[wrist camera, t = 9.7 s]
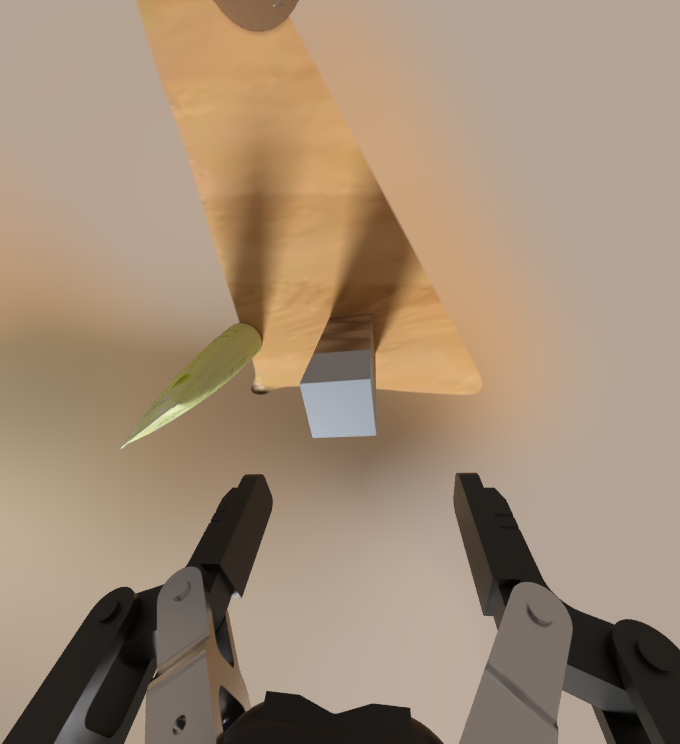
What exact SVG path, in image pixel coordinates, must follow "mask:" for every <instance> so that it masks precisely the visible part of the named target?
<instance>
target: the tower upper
mask: <svg viewBox="0 0 680 744" xmlns="http://www.w3.org/2000/svg"><path fill="white" fill-rule="evenodd" d="M367 349H371V355H372V365H373V375H374V386H375V396H376V374H375V363H374V353H373V342H372V332H371V329H366V330H356V331H346V332H336V333H327V334H322V336H321V338H320V340H319V342H318V344H317V347H316V349H315V351H314V353H313V354H321V353H332V352H344V351H355V350H367Z"/></svg>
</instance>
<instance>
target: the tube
mask: <svg viewBox="0 0 680 744" xmlns="http://www.w3.org/2000/svg"><path fill="white" fill-rule="evenodd" d="M261 344H262V341H261V337H260V335H259V333H258V332H257V330H256V329H255V328H253V327H252V326H250V325H248V324H244V323H238V324H235V325H233V326H231V327H230V328H229V329H227V330H226V331H225V332H224V333H222V334H221V335H220V336H219V337H217V338H216V339H215V340H214V341H213V342H212V343H210V344H209V345H208V346H207V347H206V348H205V349H204V350H203V351H202V352H200V353H199V354H198V355H197V356H196V357H195V358H194V359H193V360H192V361H191V362H190V363H189V364H188V365H187V366H186V367H185V368H184V369H183V370H182V371H181V372H180V373H179V374H178V375H177V377H176V378H175V379H174V380H173V381H172V382H171V383H170V384H169V385H168V387H167V388H166V389H165V390H164V391H163V393H161V395H160V396H159V397H158V398H157V399H156V400H155V402H154V403H153V404H152V405H151V407H150V408H149V409H148V410H147V411H146V413H145V414H144V415H143V416H142V418H141V419H140V420H139V422H138V423H137V424H136V426H135V427H134V429H133V430H132V432H131V434H130V435H129V437H128V439H127V440H126V442H125V443H124V444H123V445H122V446H121V449H122V448H123V447H124V446H125V445H127V444H128V443H130V442H132V441H134V440H137V439H139V438H141V437H143V436H145V435H147V434H149V433H151V432H153V431H154V430H157V429H158V428H160V427H162V426H164V425H165V424H167V423H169V422H170V421H172V420H174V419H175V418H177V417H178V416H180V415H182V414H183V413H185V412H186V411H188V410H189V409H191V408H192V407H194V406H195V405H197V404H198V403H200V402H201V401H203V400H204V399H205V398H207V397H208V396H210V395H211V394H212V393H214V392H215V391H216V390H218V389H219V388H220V387H221V386H223V385H224V384H225V383H226V382H227V381H228V380H230V379H231V378H232V377H233V376H234V375H235V374H236V373H238V371H240V370H241V369H242V368H243V367H244V366H245V365H246V364H247V363H248V362H249V361H250V360H251V359H252V358H253V357H254V356H255V355H256V354H257V353H258V352H259V350H260V348H261Z"/></svg>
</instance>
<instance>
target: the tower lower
mask: <svg viewBox="0 0 680 744" xmlns="http://www.w3.org/2000/svg"><path fill="white" fill-rule="evenodd" d="M366 329H371V332H372V342H373V353H374V363H375V344H374V333H373V322H372V314H367V315H358V316H348V317H339V318H330V319H329V320H328V323H327V325H326V327H325V329H324V331H323V334H327V333H336V332H346V331H356V330H366ZM375 373H376V367H375Z"/></svg>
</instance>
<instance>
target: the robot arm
mask: <svg viewBox="0 0 680 744" xmlns="http://www.w3.org/2000/svg"><path fill="white" fill-rule="evenodd" d="M214 1H215V3H216V4H217V5H218V7H219V8H220V9H221V11H222V12H223V13H224V14H225V15H226V16H227V17H228V18H229V19H230V20H231V21H232V22H234V23H235V24H237V25H238V26H240V27H241V28H244V29H247V30H250V31H266V30H269V29H272V28H275V27H276V26H278V25H279V24H281V23H282V22H283V21H284V20H285V19H286V18H287V17H288V16H289V15H290V14H291V12H292V11H293V10H294V8H295V6H296V3H297V2H298V1H299V0H214ZM272 504H273V499H272V495H271V493H270V490H269V487H268V485H267V482H266V480H265V477H264V475H262V474H255V475H254V474H252V475H251V474H248V475H245V476H243V478H242V480H241V482H240V484H239V486H238V488H232V489H231V490H230V491H229V492H228V493H227V494H226V495H225V496H224V497H223V498H222V500H221V502H220V504H219V506H218V508H217V510H216V513H215V514H214V515H213V517H212V519H211V523H209V525H208V527H207V529H206V531H205V532H204V534H203V536H202V538H201V540H200V542H199V544H198V546H197V547H196V549H195V551H194V553H193V555H192V557H191V559H190V561H189V563H188V564H187V566H186V567H185V568H183V569H181V570H179V571H177V572H176V573H174V574H173V575H172V576H171V577H170V578H169V579H168V580H167V582H166V583H165V584H163V585H161V586H158V587H155V588H152V589H149V590H145V591H142V592H140V593H135V592H134V591H133V590H132V589H131V588H129V587H120V588H117V589H115V590H113V591H112V592H110V593H108V594H107V595H105V596H104V597H103V598H102V599H101V600H100V601H99V602H98V603H97V604H96V605H95V606H94V607H93V609H92V610H91V611H90V613H89V614H88V616H87V617H86V619H85V620H84V622H83V623H82V625H81V626H80V628H79V629H78V631H77V632H76V634H75V635H74V637H73V638H72V640H71V641H70V643H69V644H68V646H67V647H66V649H65V650H64V652H63V653H62V655H61V657H60V658H59V659H58V661H57V662H56V664H55V665H54V667H53V668H52V670H51V671H50V673H49V674H48V676H47V677H46V679H45V680H44V682H43V683H42V685H41V686H40V688H39V689H38V691H37V692H36V694H35V695H34V697H33V698H32V700H31V701H30V703H29V704H28V706H27V707H26V709H25V710H24V712H23V713H22V715H21V716H20V718H19V719H18V721H17V722H16V724H15V725H14V727H13V728H12V730H11V731H10V733H9V734H8V736H7V737H6V739H5V740H4V742H3V743H2V744H124V742H125V740H126V738H127V735H128V733H129V731H130V728H131V726H132V724H133V721H134V719H135V717H136V715H137V712H138V710H139V708H140V706H141V703H142V701H143V699H144V696H145V694H146V692H147V694H146V724H145V744H444V743H443V742H442V741H441V740H440V739H439V738H438V737H437V736H436V735H435V734H434V733H433V732H432V731H431V730H430V729H429V728H427V727H426V726H425V725H423V724H422V723H421V722H419V721H417V720H415V719H413V718H412V717H411V713H410V708H406V707H397V706H389V705H381V704H369V705H366V706H362V707H359V708H356V709H352V710H349V711H345V712H342V713H338V714H333V713H330V712H329V711H327V710H325V709H324V708H322V707H320V706H318V705H317V704H315V703H313V702H311V701H310V700H308V699H306V698H304V697H302V696H301V695H296V694H288V693H279V692H270V691H266V696H265V701H264V702H262V703H260V704H258V705H256V706H254V707H252V708H251V705H250V700H249V696H248V692H247V689H246V686H245V683H244V680H243V678H242V676H241V673H240V669H239V665H238V660H237V655H236V650H235V644H234V639H233V634H232V629H231V624H230V619H229V614H228V610H227V608H228V605H229V602H230V600H231V598H240V599H241V598H242V596H243V593H244V590H245V587H246V584H247V581H248V578H249V575H250V572H251V569H252V567H253V564H254V561H255V558H256V555H257V552H258V549H259V546H260V543H261V540H262V537H263V534H264V532H265V529H266V526H267V523H268V520H269V517H270V514H271V511H272ZM454 508H455V514H456V517H457V521H458V525H459V528H460V532H461V536H462V539H463V543H464V547H465V550H466V554H467V557H468V561H469V564H470V568H471V572H472V576H473V579H474V583H475V586H476V590H477V594H478V597H479V601H480V605H481V608H482V612H483V615H484V616H494V619H495V622H496V626H497V630H498V633H497V635H496V638H495V641H494V645H493V647H492V650H491V653H490V656H489V659H488V662H487V664H486V667H485V670H484V673H483V676H482V679H481V682H480V685H479V687H478V690H477V693H476V696H475V699H474V702H473V705H472V708H471V710H470V713H469V717H468V719H467V722H466V725H465V728H464V731H463V734H462V737H461V740H460V743H459V744H558V726H557V715H558V709H559V703H560V698H561V692H562V690H563V691H565V692H568V693H569V694H571V695H574V696H576V697H577V698H579V699H581V700H584V701H586V702H588V703H590V704H591V705H592V707H593V710H594V712H595V715H596V717H597V720H598V722H599V725H600V727H601V730H602V732H603V734H604V737H605V739H606V742H607V744H680V650H679V649H678V647H676V646H675V645H674V644H673V643H672V642H671V641H670V640H669V639H668V638H667V637H666V636H664V635H663V634H662V633H660V632H659V631H657V630H656V629H654V628H652V627H650V626H649V625H647V624H645V623H642V622H639V621H636V620H630V619H625V620H621V621H619V622H617V623H616V624H615V625H614V624H611V623H609V622H606V621H604V620H601V619H598V618H596V617H593V616H591V615H588V614H585V613H583V612H580V611H578V610H576V609H574V608H572V607H570V606H569V605H567V604H566V603H564V602H563V601H562V600H560V599H559V598H558V597H557V596H556V595H555V594H554V593H553V592H552V591H551V590H550V588H549V587H548V586H547V585H546V583H545V582H544V580H543V578H542V576H541V574H540V572H539V570H538V567H537V565H536V563H535V561H534V559H533V557H532V555H531V553H530V550H529V548H528V546H527V544H526V542H525V540H524V538H523V535H522V533H521V531H520V530H519V528H518V525H517V523H516V520H515V518H514V517H513V514H512V512H511V510H510V508H509V505H508V503H507V501H506V499H505V498H504V497H503V496H502V495H501V494H500V493H499V492H498V491H497V490H496V489H495V488H484V487H483V485H482V482H481V480H480V477H479V475H478V474H477V473H456V476H455V487H454ZM156 669H157V672H156V675H155V677H154V678H153V676H154V673H155V671H156ZM152 678H153V679H152Z"/></svg>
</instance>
